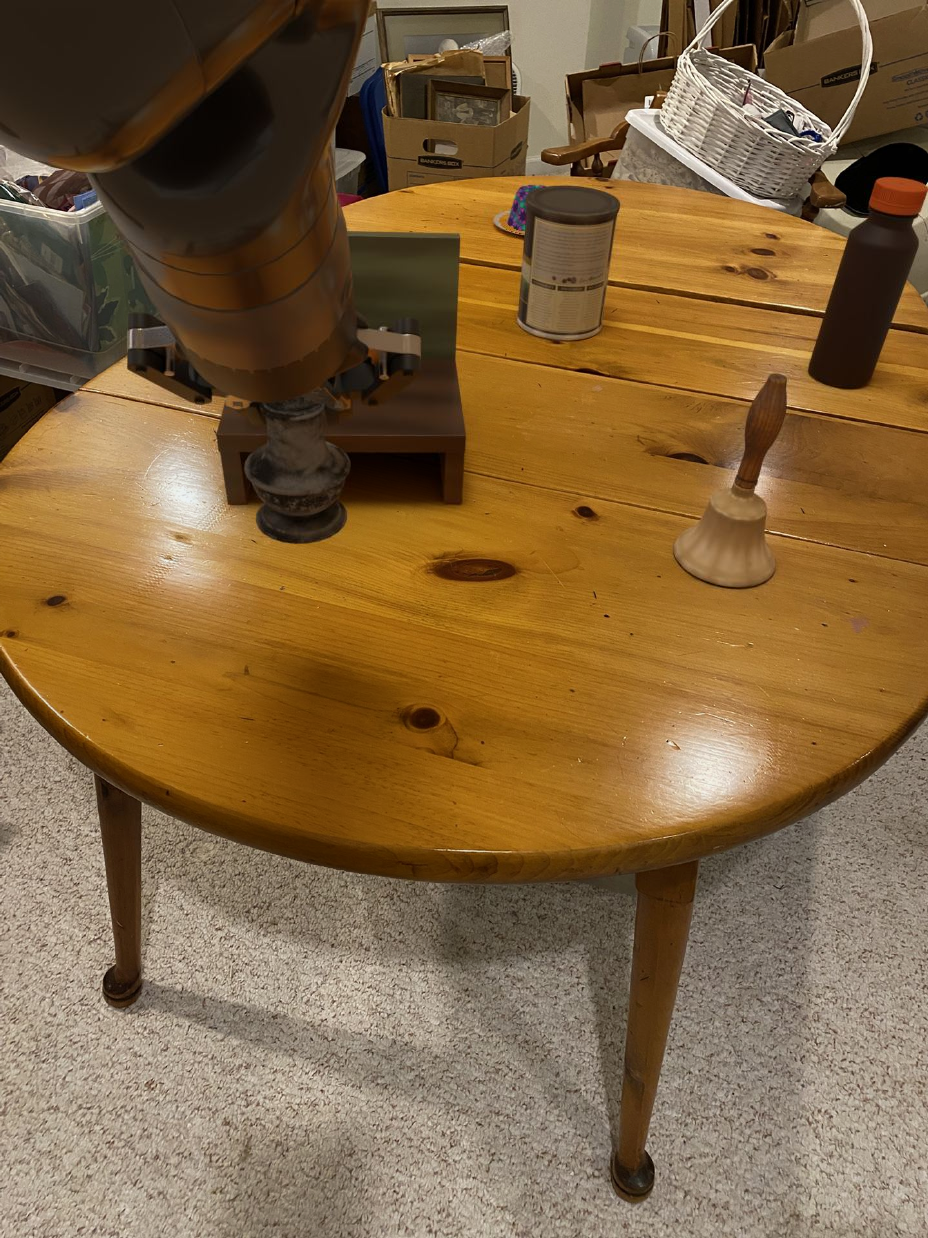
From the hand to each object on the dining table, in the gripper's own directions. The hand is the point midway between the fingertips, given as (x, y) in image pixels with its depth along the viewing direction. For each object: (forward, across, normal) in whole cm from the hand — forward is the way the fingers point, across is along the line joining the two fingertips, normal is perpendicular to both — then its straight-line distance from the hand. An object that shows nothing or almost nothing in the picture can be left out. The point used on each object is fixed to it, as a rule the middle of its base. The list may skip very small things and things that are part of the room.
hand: (296, 407), depth 52 cm
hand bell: (+22, -32, +5) cm, 40 cm away
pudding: (+79, -26, -52) cm, 98 cm away
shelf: (+32, -1, -5) cm, 33 cm away
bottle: (+46, -55, -18) cm, 74 cm away
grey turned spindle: (+3, 0, +6) cm, 7 cm away
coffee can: (+55, -25, -27) cm, 66 cm away
